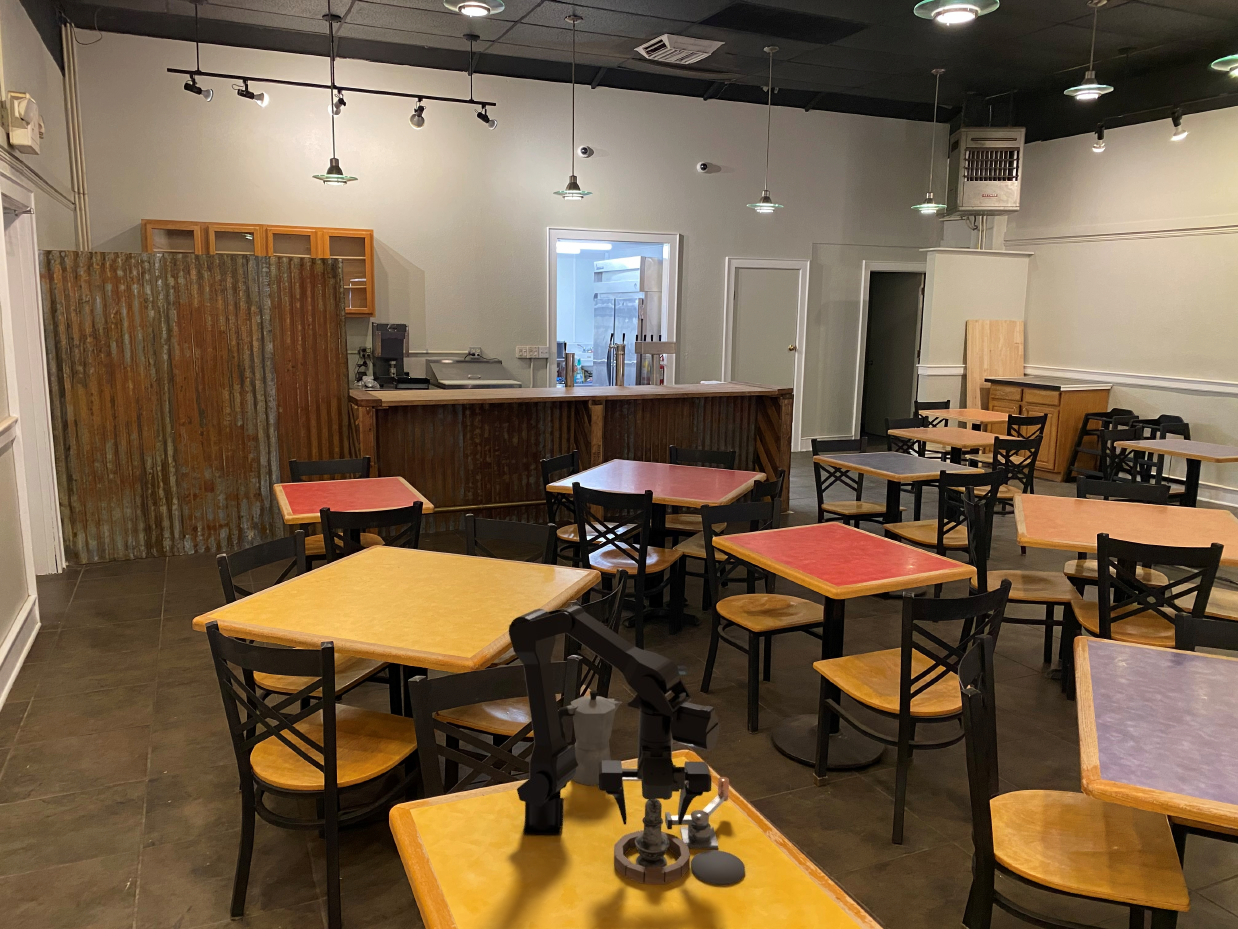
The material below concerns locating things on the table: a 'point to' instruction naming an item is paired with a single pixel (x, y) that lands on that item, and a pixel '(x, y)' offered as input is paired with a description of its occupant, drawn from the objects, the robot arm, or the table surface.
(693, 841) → the pivot block
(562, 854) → the table surface
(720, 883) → the pad
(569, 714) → the coffeepot
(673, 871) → the socket ring
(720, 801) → the clamp
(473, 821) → the table surface
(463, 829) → the table surface
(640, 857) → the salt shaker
